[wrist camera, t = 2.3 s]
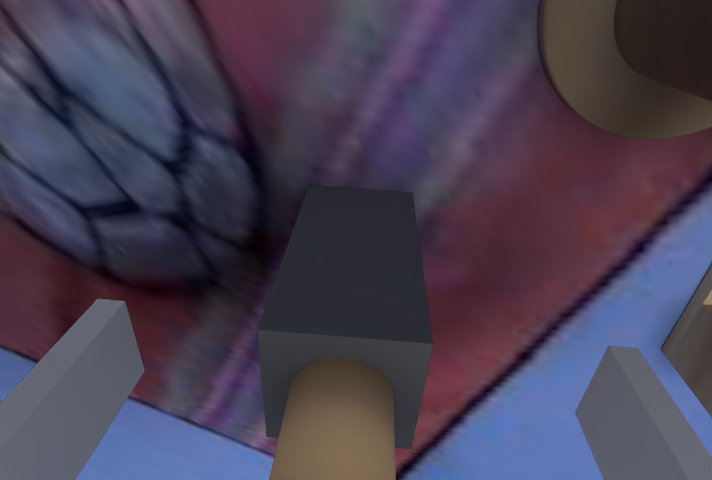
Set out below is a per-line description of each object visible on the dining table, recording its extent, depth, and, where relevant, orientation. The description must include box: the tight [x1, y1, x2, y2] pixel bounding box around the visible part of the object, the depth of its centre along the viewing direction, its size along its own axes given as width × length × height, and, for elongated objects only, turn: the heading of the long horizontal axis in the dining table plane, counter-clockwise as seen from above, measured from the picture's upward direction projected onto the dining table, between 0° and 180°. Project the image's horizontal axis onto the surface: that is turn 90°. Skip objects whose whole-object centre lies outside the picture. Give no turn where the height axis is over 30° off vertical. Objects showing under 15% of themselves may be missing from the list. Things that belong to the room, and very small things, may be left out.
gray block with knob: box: [258, 185, 433, 480], centre depth 13 cm, size 4×4×10 cm
